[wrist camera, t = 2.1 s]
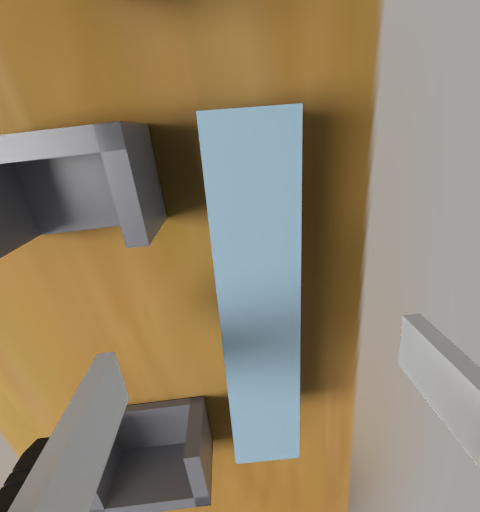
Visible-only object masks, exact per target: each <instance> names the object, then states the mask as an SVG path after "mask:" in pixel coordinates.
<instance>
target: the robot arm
mask: <svg viewBox="0 0 480 512" xmlns="http://www.w3.org/2000/svg"><path fill="white" fill-rule="evenodd" d="M398 364H399V366H400V367H401V369H402V370H403V371H404V372H405V374H406V375H407V376H408V378H409V379H410V380H411V381H412V383H413V384H414V385H415V387H416V388H417V389H418V390H419V392H420V393H421V394H422V396H424V398H425V399H426V401H427V402H428V403H429V405H430V406H431V407H432V408H433V409H434V411H435V412H436V414H437V415H438V416H439V417H440V419H441V420H442V421H443V423H444V424H445V425H446V426H447V428H448V429H449V430H450V431H451V433H452V434H453V435H454V437H455V438H456V439H457V440H458V442H459V443H460V444H461V446H462V447H463V448H464V449H465V451H466V452H467V453H468V455H469V456H470V457H471V458H472V460H473V461H474V462H475V464H476V465H477V466H478V467H479V469H480V367H479V366H478V365H477V364H475V363H474V362H473V361H472V360H471V359H470V358H469V357H468V356H467V355H465V354H464V353H463V352H462V351H461V350H460V349H459V348H457V347H456V346H455V345H454V344H453V343H452V342H451V341H450V340H449V339H447V338H446V337H445V336H444V335H443V334H442V333H441V332H440V331H438V330H437V329H436V328H435V327H434V326H433V325H432V324H430V323H429V322H428V321H427V320H426V319H425V318H424V317H423V316H421V315H420V314H414V315H405V316H403V321H402V331H401V339H400V349H399V358H398ZM128 400H129V396H128V393H127V389H126V386H125V383H124V380H123V377H122V374H121V371H120V368H119V365H118V361H117V358H116V355H115V352H109V353H101V354H97V355H96V357H95V359H94V361H93V362H92V364H91V366H90V368H89V370H88V371H87V373H86V375H85V377H84V378H83V380H82V382H81V384H80V385H79V387H78V389H77V391H76V392H75V394H74V396H73V398H72V399H71V401H70V403H69V405H68V406H67V408H66V410H65V412H64V413H63V415H62V417H61V419H60V420H59V422H58V424H57V426H56V427H55V429H54V431H53V433H52V434H51V436H50V437H47V438H39V439H37V440H36V441H35V442H34V443H33V444H32V445H31V446H30V447H29V448H28V449H27V450H26V451H25V452H24V453H23V454H22V456H21V457H20V459H19V461H18V462H17V464H16V465H15V467H14V469H13V472H12V473H11V474H10V475H9V477H8V478H7V480H6V481H5V483H4V487H3V488H1V489H0V512H89V511H90V508H91V506H92V503H93V500H94V497H95V494H96V491H97V488H98V486H99V483H100V480H101V477H102V474H103V471H104V469H105V466H106V463H107V460H108V457H109V454H110V451H111V449H112V446H113V443H114V440H115V437H116V434H117V432H118V429H119V426H120V423H121V420H122V417H123V414H124V412H125V409H126V406H127V403H128Z"/></svg>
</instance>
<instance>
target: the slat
mask: <svg viewBox="0 0 480 512" xmlns="http://www.w3.org/2000/svg"><path fill="white" fill-rule="evenodd" d="M196 115H197V124H198V133H199V142H200V151H201V159H202V168H203V177H204V186H205V195H206V204H207V212H208V221H209V230H210V239H211V248H212V257H213V265H214V274H215V283H216V292H217V301H218V310H219V318H220V327H221V336H222V345H223V354H224V363H225V371H226V380H227V389H228V398H229V407H230V416H231V425H232V433H233V442H234V451H235V460H236V464H239V463H250V462H260V461H270V460H280V459H290V458H299V442H300V337H301V232H302V126H303V103H299V104H285V105H272V106H258V107H244V108H231V109H217V110H204V111H196Z"/></svg>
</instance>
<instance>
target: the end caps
mask: <svg viewBox="0 0 480 512" xmlns="http://www.w3.org/2000/svg"><path fill="white" fill-rule="evenodd" d="M166 218H167V215H166V210H165V205H164V200H163V196H162V191H161V186H160V181H159V176H158V171H157V166H156V162H155V157H154V152H153V147H152V142H151V137H150V132H149V127H148V124H147V123H134V122H122V121H118V122H109V123H100V124H92V125H83V126H74V127H65V128H57V129H48V130H39V131H30V132H22V133H13V134H4V135H0V258H1V257H3V256H5V255H6V254H8V253H10V252H12V251H13V250H15V249H17V248H19V247H20V246H22V245H24V244H25V243H27V242H29V241H31V240H32V239H34V238H36V237H38V236H39V235H44V234H53V233H61V232H70V231H79V230H87V229H96V228H104V227H113V226H121V230H122V234H123V237H124V241H125V245H126V248H132V247H141V246H149V245H150V243H151V242H152V240H153V239H154V237H155V236H156V234H157V232H158V231H159V229H160V228H161V226H162V225H163V223H164V221H165V220H166ZM212 456H213V439H212V434H211V429H210V424H209V419H208V415H207V410H206V405H205V400H204V396H201V397H193V398H185V399H177V400H168V401H160V402H152V403H144V404H135V405H127V406H126V409H125V412H124V414H123V417H122V420H121V423H120V426H119V429H118V432H117V434H116V437H115V440H114V443H113V446H112V449H111V451H110V454H109V457H108V460H107V463H106V466H105V469H104V471H103V474H102V477H101V480H100V483H99V486H98V488H97V491H96V494H95V497H94V500H93V503H92V506H91V508H90V512H160V511H168V510H176V509H184V508H192V507H200V506H208V505H211V487H212Z"/></svg>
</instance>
